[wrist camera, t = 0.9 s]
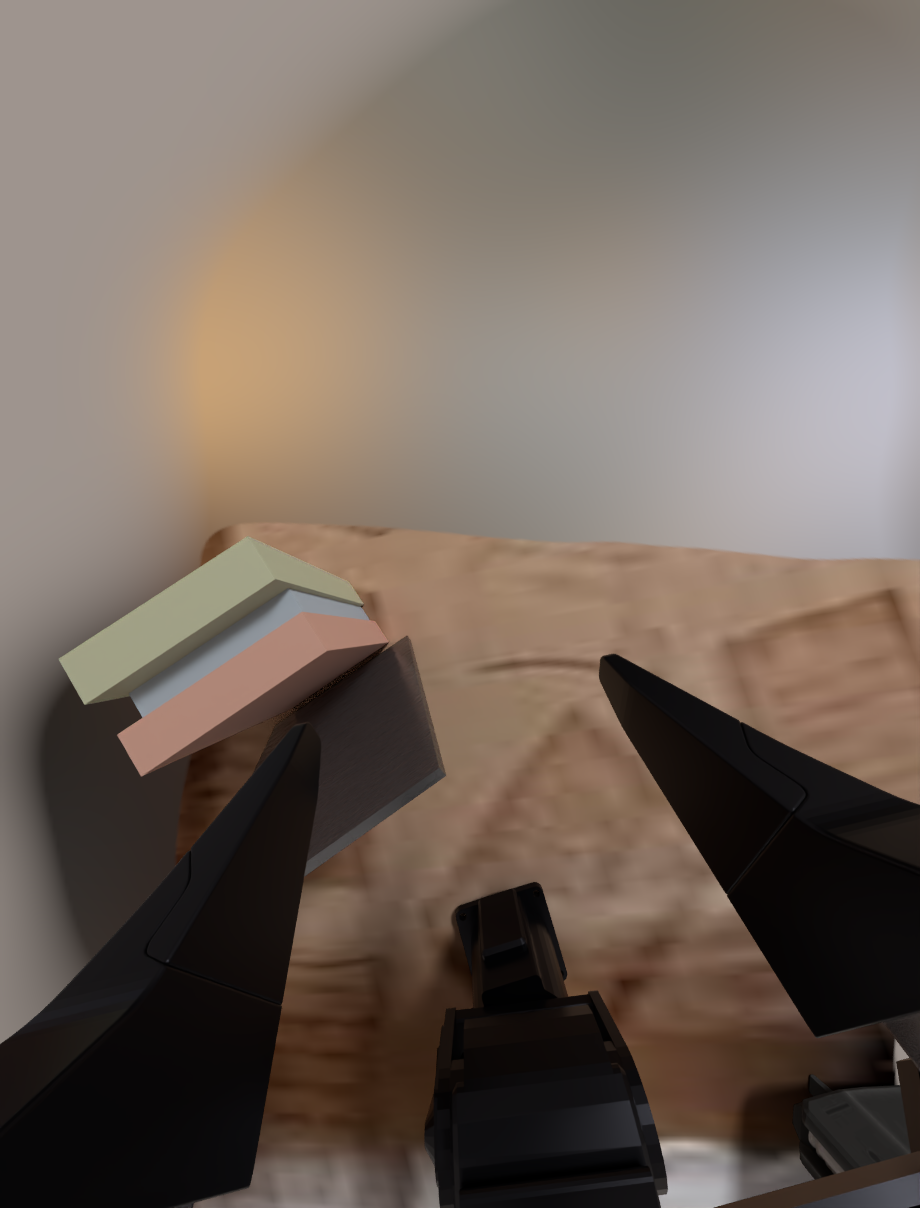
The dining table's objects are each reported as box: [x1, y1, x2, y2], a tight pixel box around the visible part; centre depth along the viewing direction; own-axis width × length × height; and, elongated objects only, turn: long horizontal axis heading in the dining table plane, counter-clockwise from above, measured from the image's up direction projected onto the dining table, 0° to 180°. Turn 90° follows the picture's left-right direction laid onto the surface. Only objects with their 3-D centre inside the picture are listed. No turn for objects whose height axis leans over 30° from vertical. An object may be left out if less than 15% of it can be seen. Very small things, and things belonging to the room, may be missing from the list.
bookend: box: [254, 636, 446, 876], centre depth 19 cm, size 1×12×14 cm, turn 124°
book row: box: [59, 536, 389, 776], centre depth 20 cm, size 6×9×12 cm, turn 124°
